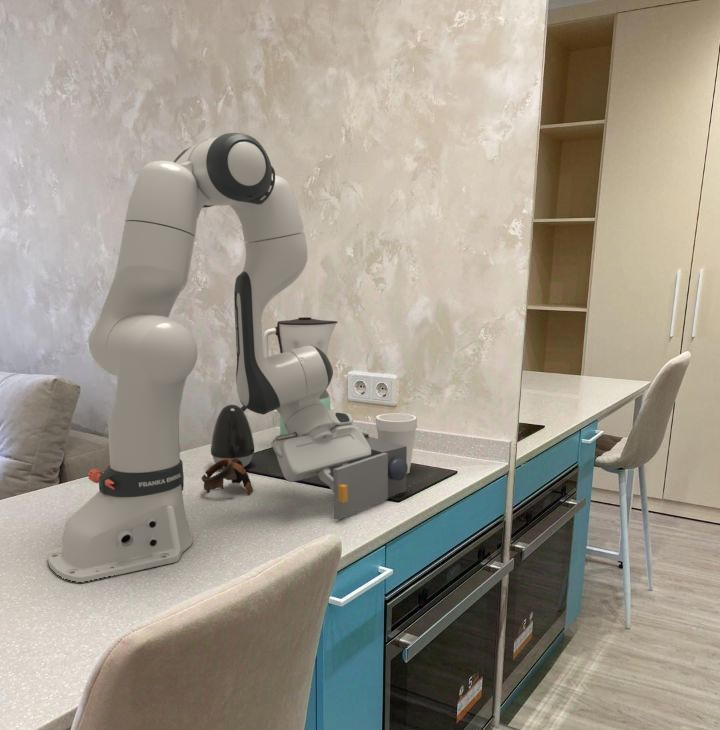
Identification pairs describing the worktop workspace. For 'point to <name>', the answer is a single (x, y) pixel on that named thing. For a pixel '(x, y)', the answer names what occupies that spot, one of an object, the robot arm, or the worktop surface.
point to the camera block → (391, 463)
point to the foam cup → (398, 431)
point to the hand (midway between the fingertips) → (343, 489)
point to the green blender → (301, 343)
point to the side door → (360, 485)
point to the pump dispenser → (232, 436)
